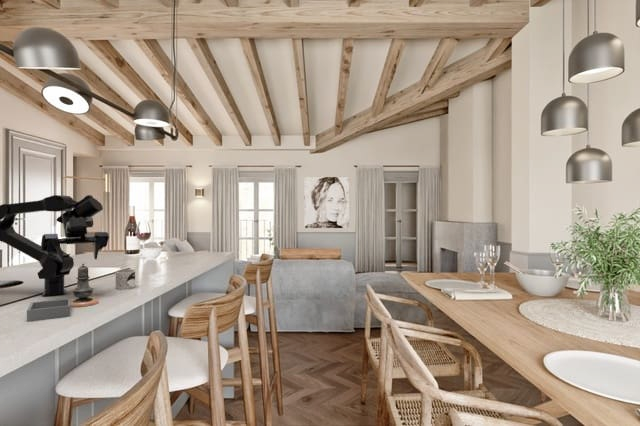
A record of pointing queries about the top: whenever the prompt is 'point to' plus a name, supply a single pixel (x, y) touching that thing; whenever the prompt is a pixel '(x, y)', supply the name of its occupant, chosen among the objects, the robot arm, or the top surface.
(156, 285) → the top surface
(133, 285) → the grey speckled block
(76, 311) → the top surface
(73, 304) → the coaster
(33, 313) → the tub
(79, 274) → the grey tall domed piece
